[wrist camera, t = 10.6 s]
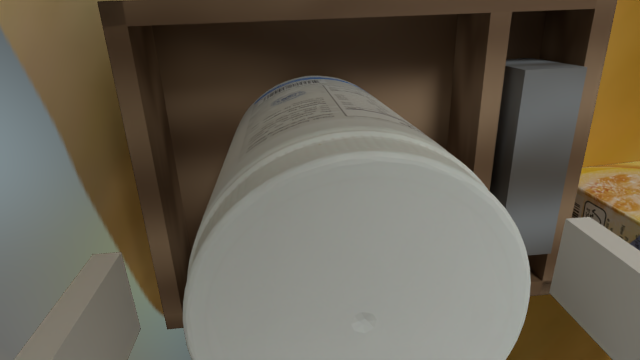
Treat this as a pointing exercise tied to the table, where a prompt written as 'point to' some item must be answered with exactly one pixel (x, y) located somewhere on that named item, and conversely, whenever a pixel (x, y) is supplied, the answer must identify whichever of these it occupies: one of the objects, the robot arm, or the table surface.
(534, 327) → the table surface
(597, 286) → the robot arm
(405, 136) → the supplement tub
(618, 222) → the beverage box
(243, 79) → the wooden compartment tray
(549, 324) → the table surface
